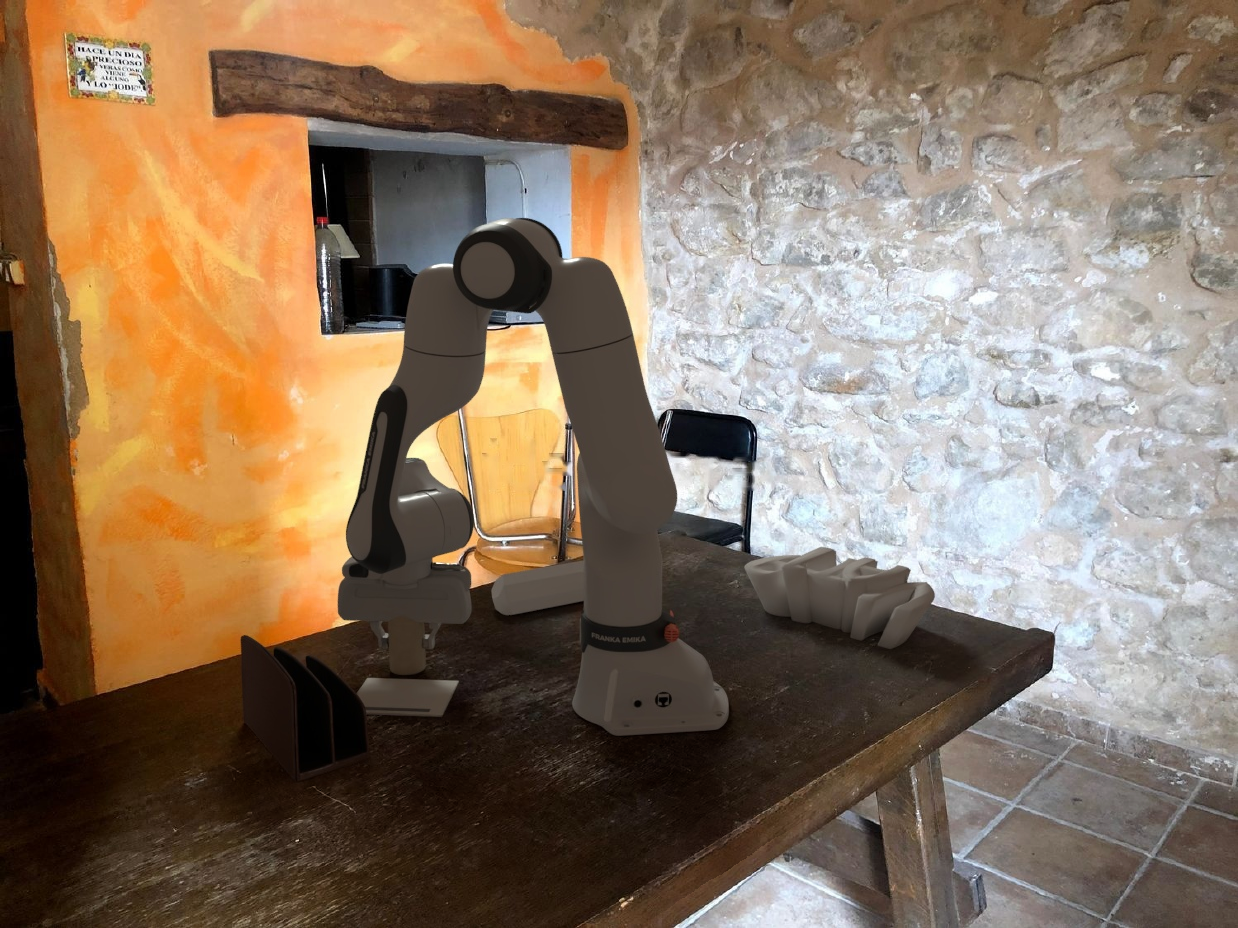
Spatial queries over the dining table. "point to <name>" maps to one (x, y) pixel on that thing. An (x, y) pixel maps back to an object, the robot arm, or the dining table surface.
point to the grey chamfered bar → (539, 588)
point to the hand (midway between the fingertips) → (406, 646)
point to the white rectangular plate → (406, 696)
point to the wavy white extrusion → (842, 594)
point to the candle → (406, 646)
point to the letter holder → (301, 711)
